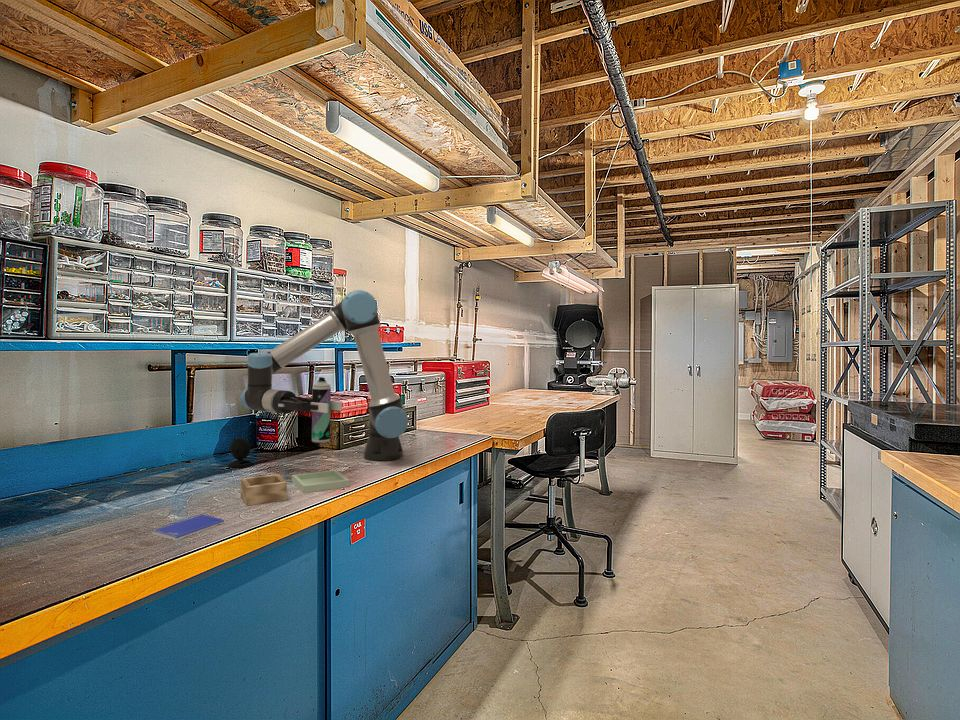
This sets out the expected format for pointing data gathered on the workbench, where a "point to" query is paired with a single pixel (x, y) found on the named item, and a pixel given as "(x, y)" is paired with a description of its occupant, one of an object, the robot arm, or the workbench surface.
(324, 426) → the spray can
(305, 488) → the tray
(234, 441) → the webcam
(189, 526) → the hard drive
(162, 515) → the workbench surface
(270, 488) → the wooden storage crate
